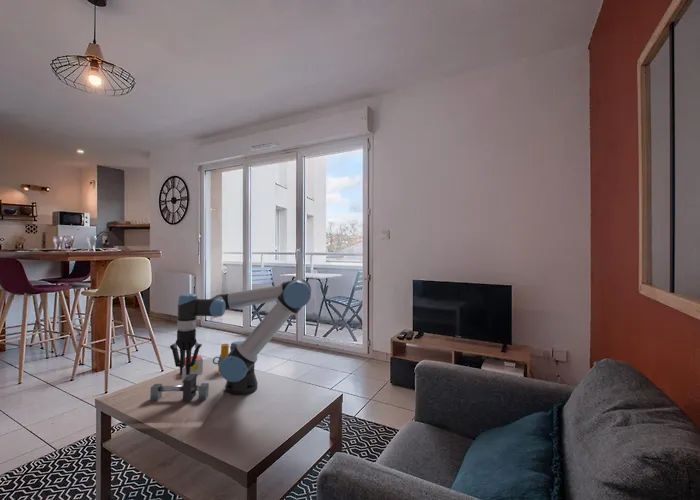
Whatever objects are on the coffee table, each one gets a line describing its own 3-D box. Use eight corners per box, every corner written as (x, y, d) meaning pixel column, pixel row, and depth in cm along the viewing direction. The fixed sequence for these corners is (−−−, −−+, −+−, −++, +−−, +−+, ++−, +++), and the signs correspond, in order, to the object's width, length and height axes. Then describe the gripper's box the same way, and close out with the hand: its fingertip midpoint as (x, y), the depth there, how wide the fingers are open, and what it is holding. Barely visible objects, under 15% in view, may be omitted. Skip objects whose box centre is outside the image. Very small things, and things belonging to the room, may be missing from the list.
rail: (209, 397, 151) (209, 381, 151) (204, 405, 144) (204, 388, 144) (155, 398, 148) (156, 382, 148) (148, 406, 141) (149, 389, 141)
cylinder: (226, 376, 176) (227, 348, 176) (208, 374, 178) (210, 346, 178) (238, 368, 188) (239, 342, 188) (222, 366, 190) (223, 340, 190)
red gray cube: (186, 376, 174) (186, 361, 174) (184, 371, 181) (184, 357, 181) (202, 373, 179) (203, 359, 179) (200, 369, 185) (200, 355, 185)
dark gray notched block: (195, 394, 150) (196, 373, 150) (189, 402, 143) (190, 380, 143) (188, 394, 150) (189, 373, 150) (182, 402, 142) (183, 380, 142)
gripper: (204, 327, 151) (202, 378, 151) (174, 326, 149) (172, 378, 149) (199, 331, 143) (197, 385, 143) (167, 331, 141) (165, 385, 142)
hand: (184, 381), depth 146 cm, fingers closed
